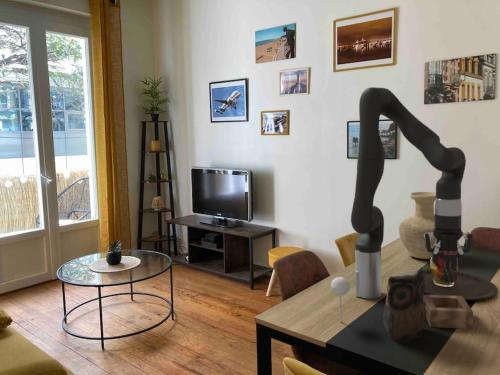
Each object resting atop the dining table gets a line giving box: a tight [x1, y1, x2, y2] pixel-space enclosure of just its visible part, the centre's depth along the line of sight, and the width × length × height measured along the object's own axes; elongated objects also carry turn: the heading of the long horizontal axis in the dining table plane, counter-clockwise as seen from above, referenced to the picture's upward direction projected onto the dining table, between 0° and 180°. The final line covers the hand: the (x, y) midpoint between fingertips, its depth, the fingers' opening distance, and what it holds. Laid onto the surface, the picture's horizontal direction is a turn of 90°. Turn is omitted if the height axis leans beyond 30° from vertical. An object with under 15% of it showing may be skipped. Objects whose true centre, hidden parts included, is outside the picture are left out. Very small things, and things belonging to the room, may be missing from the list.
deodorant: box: [436, 233, 459, 283], centre depth 130 cm, size 6×6×15 cm
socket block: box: [423, 294, 474, 330], centre depth 132 cm, size 12×12×6 cm
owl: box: [382, 267, 427, 343], centre depth 123 cm, size 13×13×20 cm
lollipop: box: [330, 276, 351, 323], centre depth 133 cm, size 6×6×15 cm
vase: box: [398, 191, 437, 260], centre depth 193 cm, size 22×22×30 cm
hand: (447, 264), depth 130 cm, fingers closed on deodorant, 6 cm apart
